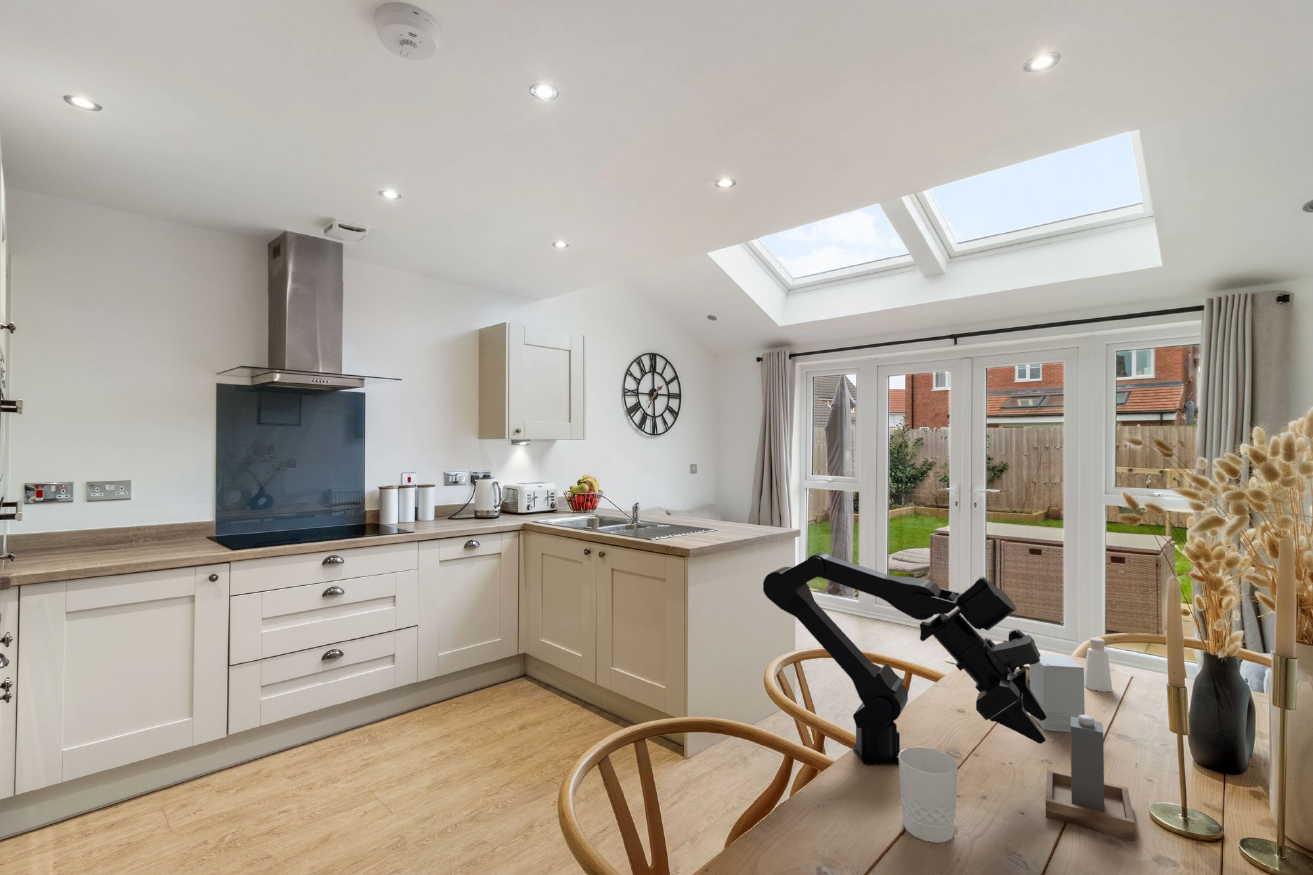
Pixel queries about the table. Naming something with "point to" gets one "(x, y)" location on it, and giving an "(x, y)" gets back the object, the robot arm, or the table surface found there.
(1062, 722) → the supplement box
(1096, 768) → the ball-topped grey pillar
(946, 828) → the white cup
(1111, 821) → the wooden tray
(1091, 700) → the table surface
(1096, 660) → the pepper shaker
